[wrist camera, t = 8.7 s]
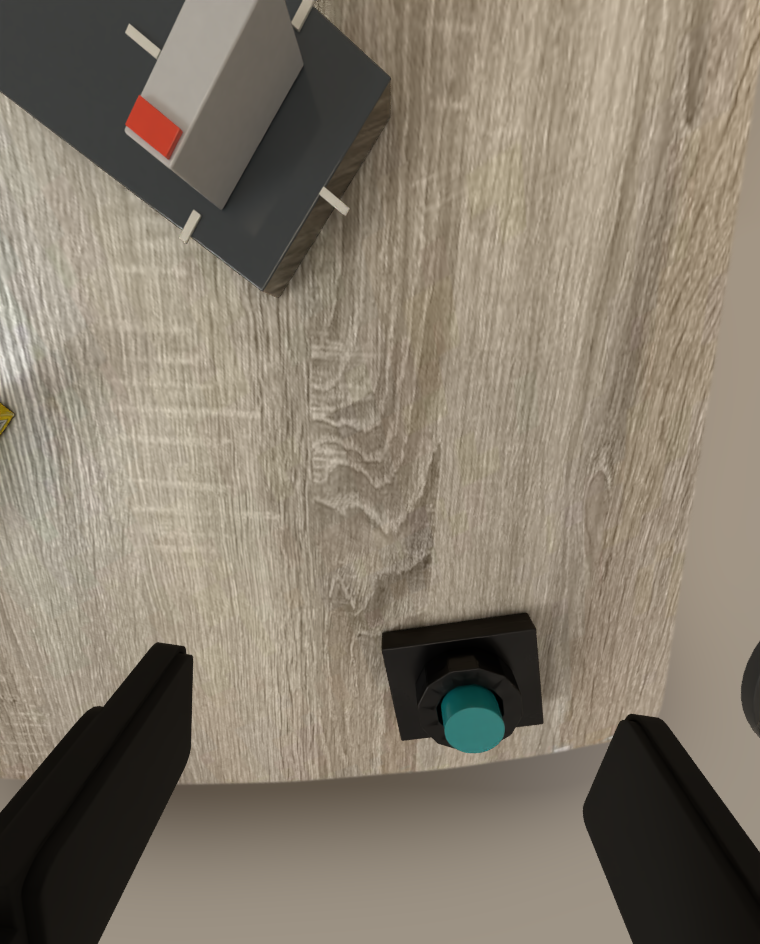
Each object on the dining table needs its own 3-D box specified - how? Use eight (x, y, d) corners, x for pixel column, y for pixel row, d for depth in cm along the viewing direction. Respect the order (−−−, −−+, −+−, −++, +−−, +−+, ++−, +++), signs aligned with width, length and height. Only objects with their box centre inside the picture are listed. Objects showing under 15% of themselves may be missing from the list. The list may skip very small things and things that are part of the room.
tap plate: (418, 129, 19) (423, 90, 16) (296, 320, 22) (281, 316, 19) (129, -133, 17) (73, -236, 14) (31, 118, 20) (-34, 77, 17)
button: (494, 680, 25) (502, 704, 24) (500, 724, 26) (507, 750, 25) (437, 687, 26) (440, 711, 24) (444, 730, 27) (448, 756, 25)
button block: (527, 612, 27) (547, 649, 24) (535, 703, 30) (554, 749, 26) (381, 632, 28) (380, 671, 25) (400, 720, 30) (402, 766, 27)
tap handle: (267, 29, 16) (220, -94, 12) (305, 64, 16) (273, -44, 12) (187, 183, 18) (117, 126, 13) (222, 211, 18) (166, 166, 13)
